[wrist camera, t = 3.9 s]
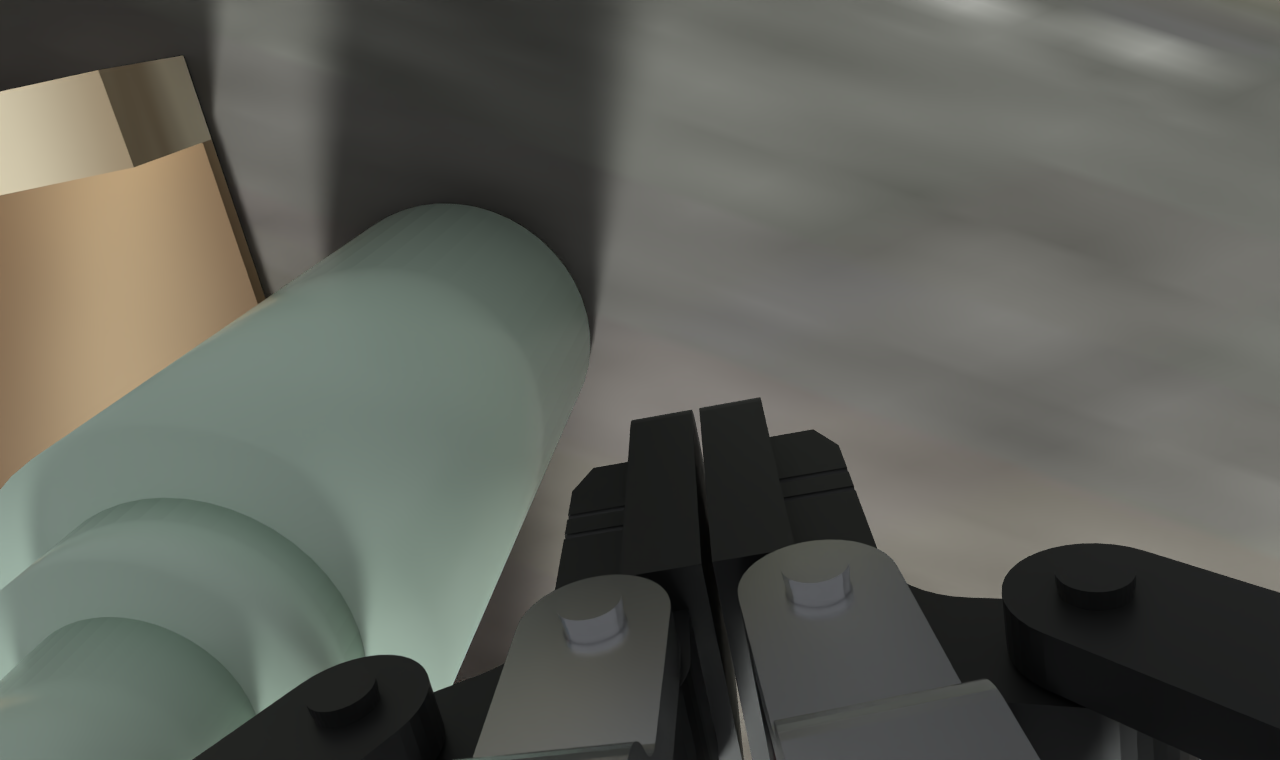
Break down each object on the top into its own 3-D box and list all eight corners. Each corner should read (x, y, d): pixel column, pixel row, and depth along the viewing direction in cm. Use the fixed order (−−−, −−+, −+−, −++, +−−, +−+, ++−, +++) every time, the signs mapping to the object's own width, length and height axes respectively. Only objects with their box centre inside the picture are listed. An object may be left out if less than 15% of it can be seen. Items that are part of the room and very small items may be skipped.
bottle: (555, 180, 19) (28, 733, 6) (616, 439, 21) (328, 1341, 7) (291, 229, 20) (-713, 809, 7) (370, 473, 22) (-289, 1331, 8)
